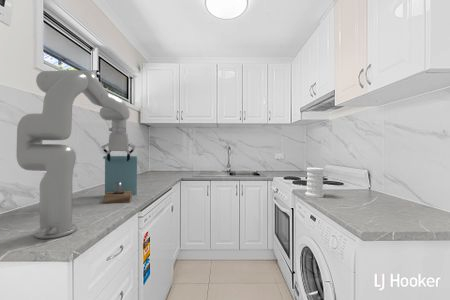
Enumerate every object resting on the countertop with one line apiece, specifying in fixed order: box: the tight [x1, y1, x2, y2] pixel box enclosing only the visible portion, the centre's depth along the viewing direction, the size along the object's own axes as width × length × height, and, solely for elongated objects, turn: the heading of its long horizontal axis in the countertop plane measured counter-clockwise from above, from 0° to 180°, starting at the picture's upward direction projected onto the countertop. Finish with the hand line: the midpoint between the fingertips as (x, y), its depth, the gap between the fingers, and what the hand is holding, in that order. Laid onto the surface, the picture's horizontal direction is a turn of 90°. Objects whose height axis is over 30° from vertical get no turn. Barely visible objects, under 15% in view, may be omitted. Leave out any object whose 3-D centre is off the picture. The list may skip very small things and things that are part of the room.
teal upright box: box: [102, 155, 138, 196], centre depth 142 cm, size 8×18×24 cm, turn 108°
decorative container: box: [304, 167, 325, 198], centre depth 156 cm, size 12×12×18 cm
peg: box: [115, 182, 122, 194], centre depth 133 cm, size 4×4×10 cm
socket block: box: [103, 190, 133, 205], centre depth 133 cm, size 13×13×4 cm
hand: (118, 161), depth 132 cm, fingers open, 9 cm apart
